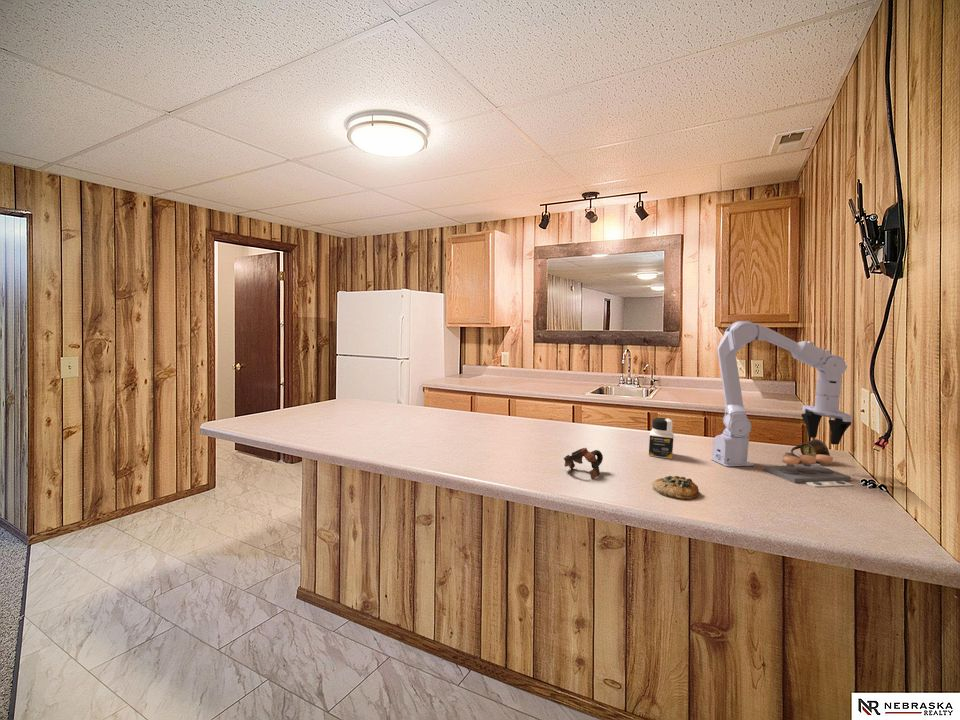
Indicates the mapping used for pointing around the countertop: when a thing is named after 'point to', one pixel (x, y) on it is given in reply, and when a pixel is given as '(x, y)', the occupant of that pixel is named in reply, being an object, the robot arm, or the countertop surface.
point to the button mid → (807, 460)
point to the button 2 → (824, 459)
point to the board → (807, 473)
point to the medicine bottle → (661, 438)
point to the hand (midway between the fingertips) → (823, 440)
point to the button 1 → (791, 460)
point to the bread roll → (676, 487)
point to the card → (829, 483)
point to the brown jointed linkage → (589, 457)
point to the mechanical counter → (811, 448)
